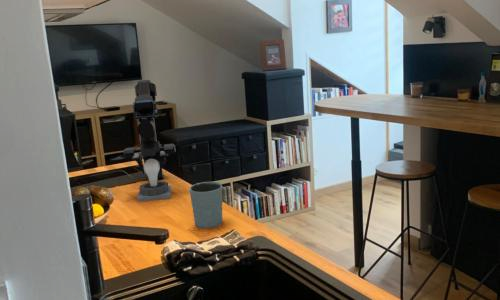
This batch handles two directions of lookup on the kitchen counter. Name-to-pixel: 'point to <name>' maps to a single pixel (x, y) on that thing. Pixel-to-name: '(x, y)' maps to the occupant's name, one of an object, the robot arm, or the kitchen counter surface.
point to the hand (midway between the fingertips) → (152, 173)
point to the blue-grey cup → (207, 204)
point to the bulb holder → (154, 191)
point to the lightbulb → (152, 171)
